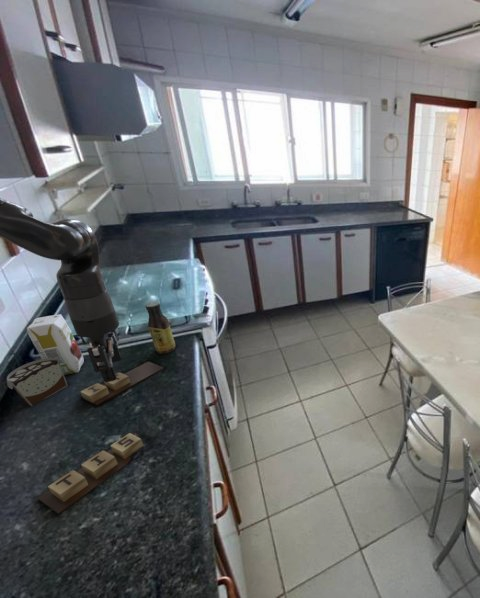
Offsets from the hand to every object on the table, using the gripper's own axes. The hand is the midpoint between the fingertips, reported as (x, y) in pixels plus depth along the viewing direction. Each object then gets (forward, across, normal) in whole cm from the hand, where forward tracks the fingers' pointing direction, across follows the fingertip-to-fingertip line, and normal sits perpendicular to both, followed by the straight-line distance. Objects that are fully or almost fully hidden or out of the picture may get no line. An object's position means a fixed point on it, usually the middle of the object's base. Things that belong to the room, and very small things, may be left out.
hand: (113, 370), depth 80 cm
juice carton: (+21, -42, -21) cm, 51 cm away
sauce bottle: (+22, -42, +6) cm, 47 cm away
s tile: (+20, +6, -1) cm, 21 cm away
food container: (+21, -30, -25) cm, 45 cm away
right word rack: (+21, -26, -5) cm, 34 cm away
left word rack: (+21, +9, -6) cm, 24 cm away
